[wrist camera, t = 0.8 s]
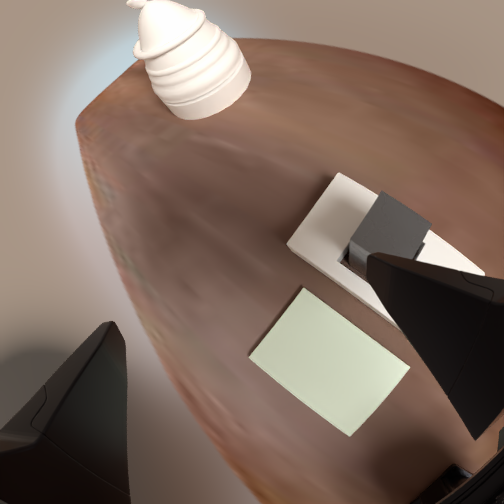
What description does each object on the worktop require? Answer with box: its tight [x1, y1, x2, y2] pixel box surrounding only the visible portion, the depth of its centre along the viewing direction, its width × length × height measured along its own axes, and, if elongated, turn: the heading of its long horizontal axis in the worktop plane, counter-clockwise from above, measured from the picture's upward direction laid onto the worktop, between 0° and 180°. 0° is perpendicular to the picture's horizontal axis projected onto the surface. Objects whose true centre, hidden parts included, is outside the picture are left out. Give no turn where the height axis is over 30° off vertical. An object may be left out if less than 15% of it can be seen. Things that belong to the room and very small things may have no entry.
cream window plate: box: [286, 172, 485, 332], centre depth 22 cm, size 16×8×2 cm, turn 52°
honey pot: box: [126, 0, 251, 120], centre depth 27 cm, size 13×13×18 cm
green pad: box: [249, 288, 410, 437], centre depth 22 cm, size 12×8×1 cm, turn 52°
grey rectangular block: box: [349, 191, 432, 276], centre depth 20 cm, size 4×4×8 cm
